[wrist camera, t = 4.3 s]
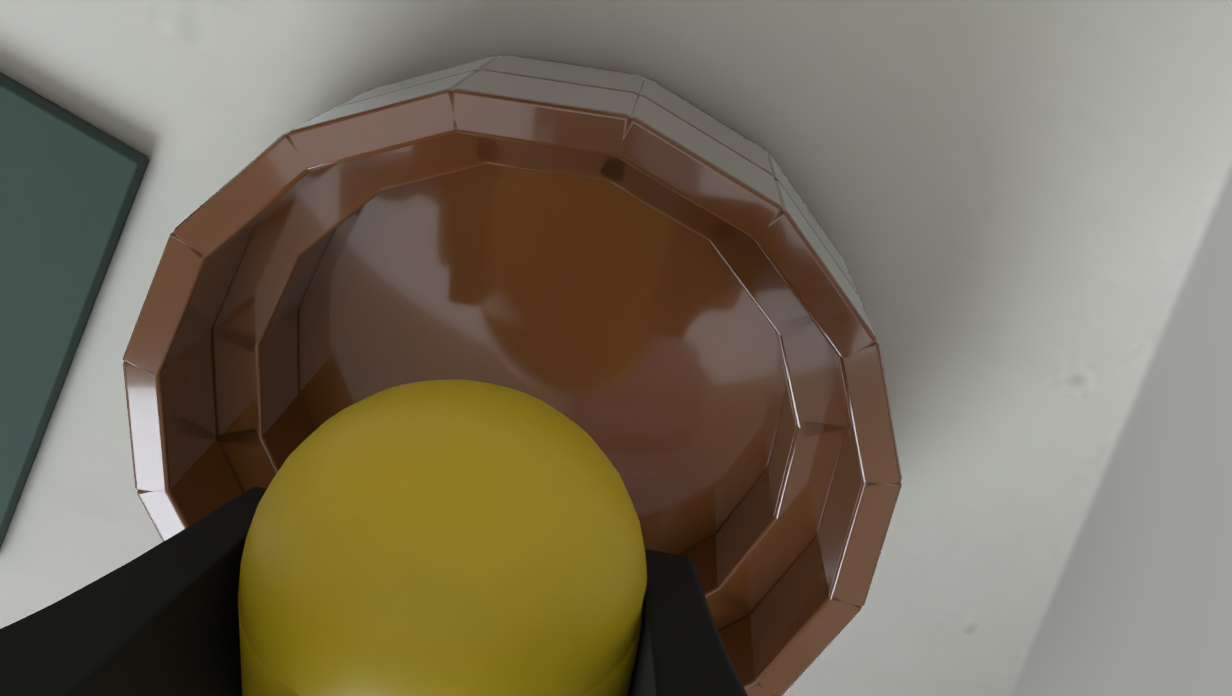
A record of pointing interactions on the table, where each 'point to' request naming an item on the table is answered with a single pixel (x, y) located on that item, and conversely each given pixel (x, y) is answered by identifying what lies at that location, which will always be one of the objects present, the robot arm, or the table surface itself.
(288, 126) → the table surface
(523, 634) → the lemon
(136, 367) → the bowl
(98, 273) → the runner
